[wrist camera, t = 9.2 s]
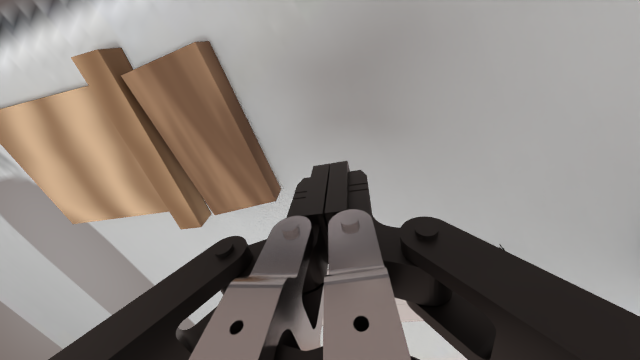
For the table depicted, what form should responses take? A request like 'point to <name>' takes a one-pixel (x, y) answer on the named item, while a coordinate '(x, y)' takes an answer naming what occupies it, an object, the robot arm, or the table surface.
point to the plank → (205, 127)
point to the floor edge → (100, 149)
